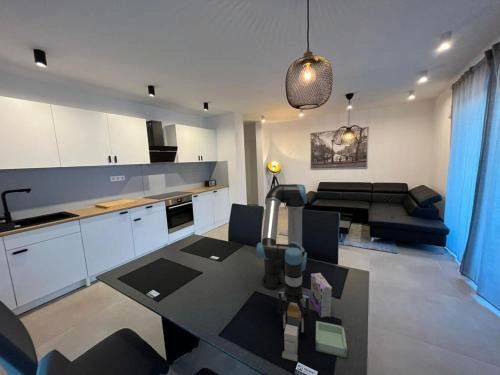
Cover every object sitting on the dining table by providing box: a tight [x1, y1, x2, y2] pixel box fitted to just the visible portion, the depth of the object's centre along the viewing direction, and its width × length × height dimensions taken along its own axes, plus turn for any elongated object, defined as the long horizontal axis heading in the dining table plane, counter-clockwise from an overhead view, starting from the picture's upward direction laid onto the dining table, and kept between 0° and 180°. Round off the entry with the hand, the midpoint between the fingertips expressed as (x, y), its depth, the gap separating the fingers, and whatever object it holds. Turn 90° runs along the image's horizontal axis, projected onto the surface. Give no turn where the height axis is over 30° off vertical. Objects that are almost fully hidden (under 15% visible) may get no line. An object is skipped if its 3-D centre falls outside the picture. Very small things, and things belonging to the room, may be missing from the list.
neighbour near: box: [283, 323, 299, 356], centre depth 89 cm, size 5×5×9 cm
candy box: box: [310, 272, 333, 318], centre depth 112 cm, size 14×6×16 cm, turn 5°
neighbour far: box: [289, 302, 302, 321], centre depth 106 cm, size 5×5×9 cm
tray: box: [315, 320, 348, 359], centre depth 92 cm, size 12×12×4 cm
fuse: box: [286, 303, 301, 339], centre depth 97 cm, size 5×5×12 cm
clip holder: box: [281, 324, 298, 363], centre depth 97 cm, size 6×28×6 cm, turn 162°
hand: (293, 327), depth 98 cm, fingers open, 8 cm apart
